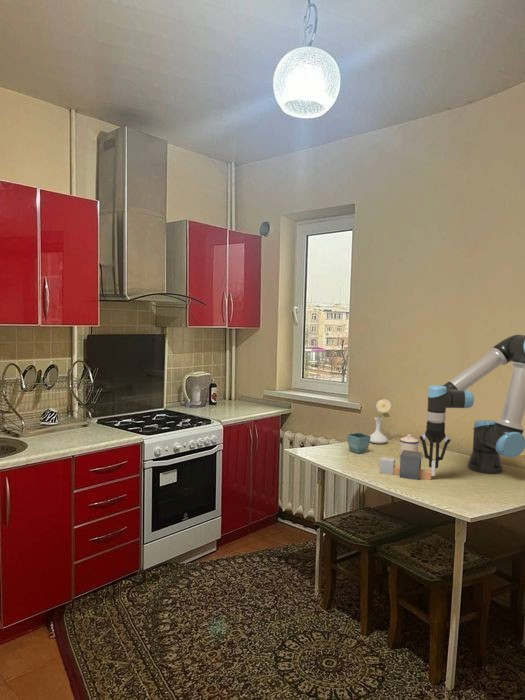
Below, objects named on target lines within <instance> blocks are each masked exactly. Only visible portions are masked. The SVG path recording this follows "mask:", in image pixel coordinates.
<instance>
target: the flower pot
mask: <svg viewBox="0 0 525 700" xmlns="http://www.w3.org/2000/svg"><path fill="white" fill-rule="evenodd" d="M370 438H371V436H370V435H368V434H364V433H360V432H354V433H348V434H347V438H346V439H347V445H348V448H349V450H350V451H351V452H352V451H353V452H352V453H355V454H357V453H359V454H364V453H366V451H367V450H368V448H369V446H370V443H371V442H370ZM363 452H364V453H363Z"/></svg>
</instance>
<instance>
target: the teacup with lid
mask: <svg viewBox="0 0 525 700" xmlns="http://www.w3.org/2000/svg"><path fill="white" fill-rule="evenodd" d="M399 441H400V443H399V457H400V456H401V453H402V451H403V450H408V451H416V452H419V442H420V440H419V439H417V438H415V437H414V436H412V434H410V433H409V434H407V435H406V436H403V437H400V439H399Z"/></svg>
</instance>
